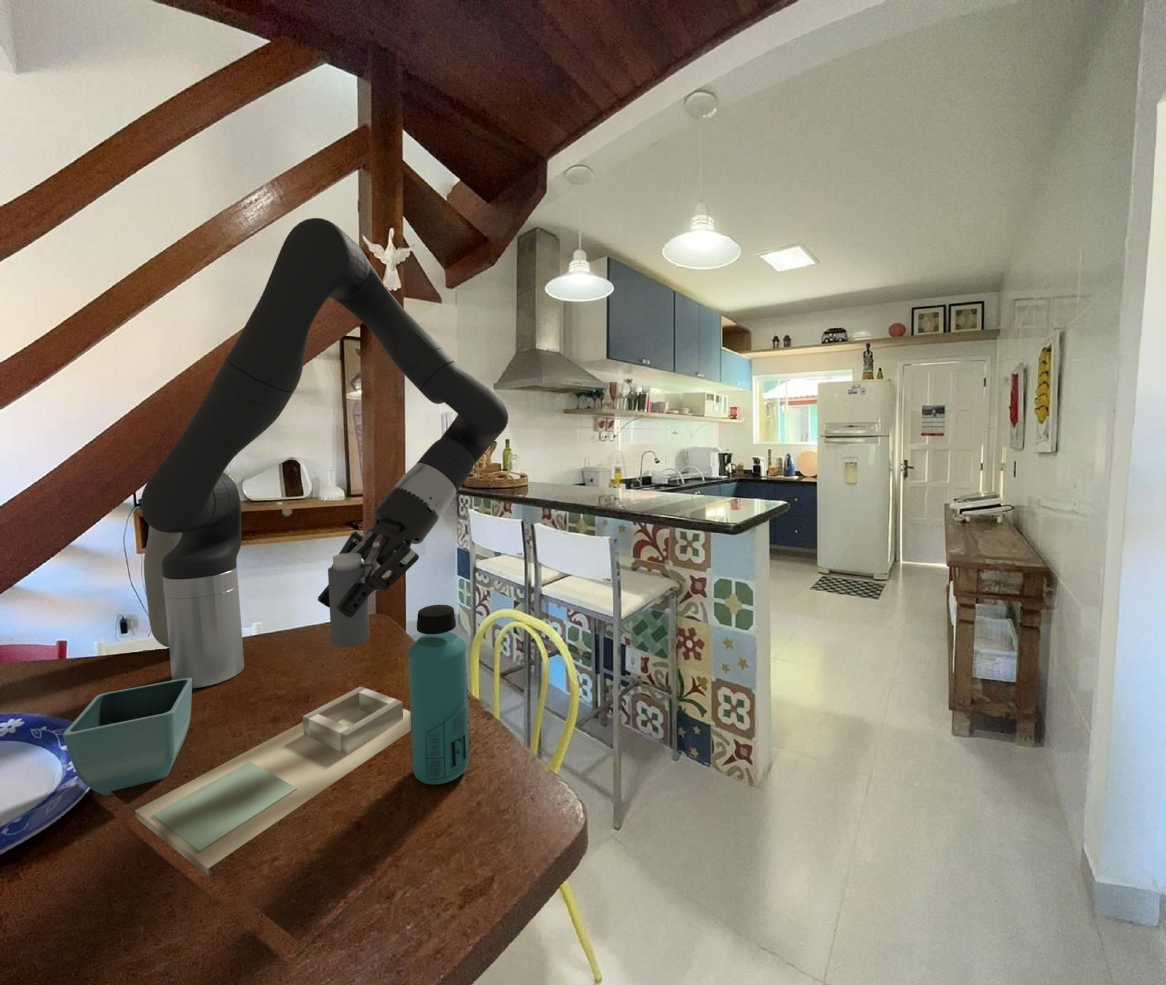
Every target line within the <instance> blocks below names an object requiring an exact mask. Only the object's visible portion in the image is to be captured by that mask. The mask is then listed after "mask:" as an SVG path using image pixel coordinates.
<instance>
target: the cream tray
mask: <svg viewBox="0 0 1166 985" xmlns="http://www.w3.org/2000/svg"><path fill="white" fill-rule="evenodd" d="M403 703H404V702H403V701H401V700H399V699H397V698H394V697H390V696H388V695H385V694H383V693H380V692H377V691H375V690H372V689H369V688H366V687H363V686H359V687H357V688H354V689H352V690H350V691H348V692H347V693H345V694H343V695H341V696H340V697H337V698H335V699H333V700H330V702H328V703H325V704H324V705H322V706H320V707H318V708H316V709H314V710H312V711H310V712H308V713H307V714H304V715H302V722H301V723H298V724H297V725H294V726H292V727H291V728H289V729H286V730H285V731H282V732H281V733H278V734H277V735H275V736H273V737H272V738H269V739H268V740H266V741H264V742H262V743H260V744H258V745H257V746H255V747H252V748H250V749H249V750H248V751H247V750H246V751H244V752H243V753H241V754H239V755H237V756H236V757H234V758H231V759H229V760H228V761H226V762H224V763H222V764H220V765H219V766H216V767H214V768H212V769H211V770H209V771H207V772H205V773H204V774H201V775H199V776H198V777H196V778H194V779H192V780H190V781H189V782H186V783H184V784H182V785H180V786H179V787H177V788H175V789H173V790H171V791H169V792H168V793H165V794H164V795H161V796H160V797H157V798H156V799H154V800H151V801H150V802H148V803H147V804H145V805H143V806H141V807H139V808H137V809H134V814H135V815H134V816H135V818H136V819H137V820H138V821H139V822H140V823H142V824H143V825H144V826H146V827H147V828H148V829H149V830H151V832H153V834H155V835H156V836H158V837H159V838H160V839H161V840H163V841H164V842H165V843H166V844H168V845H169V846H170V847H172V849H174V850H175V851H176V852H177V853H179V854H180V855H181V856H182V857H184V858H185V859H186V860H187V861H188V862H190V863H191V864H192V865H193V866H195V867H196V868H197V869H198V870H199V871H201V872H202V873H203V874H205V875H206V876H207V877H211V876H212V875H213V874H214V873H213V871H212V870H210V869H211V867H212V868H213V866H215V865H217V863H219V862H220V861H222V860H223V859H225V858H226V857H227V856H229V855H231V854H232V853H234V852H236V851H237V850H238V849H239V848H241V847H242V846H244V845H245V844H247V843H248V842H250V841H251V840H252V839H254V838H256V837H257V836H258V835H260V834H261V833H263V832H265V831H266V830H268V829H269V828H270V827H272V826H273V825H274V824H276V823H278V822H279V821H280V820H282V819H284V817H287V816H288V815H289V814H290V813H292V812H294V811H295V810H296V809H298V808H300V807H301V806H303V805H304V804H306V803H307V802H308V801H310V800H312V799H313V798H314V797H316V796H317V795H318V794H320V793H323V791H324V790H326V789H328V788H329V787H331V786H332V785H334V784H335V783H336V782H338V781H339V780H340V779H342V778H343V777H346V775H348V774H350V773H351V772H352V771H355V769H357V768H358V767H359V766H361V765H363V764H364V763H366V762H367V761H368V760H370V759H371V758H374V756H376V755H377V754H379V753H380V752H382V751H384V750H385V749H386V748H387V747H389V746H390V745H392V744H394V743H395V742H397V741H398V740H400V739H401V738H402V737H404V736H406V735H407V734H409V732H410V733H411V722H410V721H409V720H410V710H407V709H405V708H404V704H403ZM409 723H410V725H409ZM409 726H410V727H409ZM409 729H410V730H409Z"/></svg>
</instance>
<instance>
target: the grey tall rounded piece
mask: <svg viewBox="0 0 1166 985" xmlns="http://www.w3.org/2000/svg"><path fill="white" fill-rule="evenodd" d="M181 536H182V532H181V533H165V532H161V531H158V530H156V529H154V528H152V527H151V526H150V525H148V536H147V541H146V547H145V551H144V556H143V576H144V577H143V579H144V587H145V594H146V601H147V610H148V611H147V612H148V619H149V627H150V630H151V633H152V636H153V637H154V639H155V640H156V641H157V642H158V644H160V645H161V646H162V647H166V648H169V639H168V628H167V617H166V606H165V595H164V586H163V575H162V560H163V558H164V557H165V556H166V555H167V554H168V553H169V552H170V551H172V550H173V549H174V548H175V547H176V545H177V544H178V542H179V541H180V539H181Z"/></svg>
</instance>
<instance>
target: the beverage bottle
mask: <svg viewBox="0 0 1166 985" xmlns="http://www.w3.org/2000/svg"><path fill="white" fill-rule="evenodd" d="M455 614H456V613H455V609H454V607H453V606H451V605H448V604H433V605H432V604H431V605H428V606H424V607H422V608H420V609H419V610H418V611H417V619H416V620H417V621H416V631H417V632H418V633H421V634H423V635H421V636H420V637H418V639H416V640H415V641H414V643H413V642H412V643H413V644H411V646H410V647H409V648H408V650H407V658H408V678H409V681H408V682H409V700H410V701H409V702H410V703H409V711H410V720H409V721H410V722H411V731H410V732H408V734H410V745H409V748H410V749H409V752H410V753H409V754H410V759H411V760H410V763H411V764H410V767H411V769H412V773H413V775H414V776H415V778H416V779H417V780H418V781H419V782H421V783H423V784H425V785H426V784H427V785H441V784H446V783H449V782H452V781H454V780H456V779H457V778H459V777H460V776H462V774H464V772H466V770H467V768H468V765H469V762H470V758H471V754H470V753H471V748H470V747H471V737H470V736H471V735H470V734H471V732H469V730H471V729H470V728H471V727H470V725H469V724H470V715H469V705H468V703H469V701H468V699H469V698H468V693H469V691H470V690H469V686H468V673H469V672H468V669H467V652H466V651H467V643H466V642H465V640H463V639H462V638H461V637H460V636H458V635H457V634H456V633H454V632H452V631H453V630H454V629H455V628H456V626H457V620H456V615H455ZM409 725H410V723H409ZM409 727H410V726H409ZM409 730H410V729H409Z"/></svg>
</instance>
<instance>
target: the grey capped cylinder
mask: <svg viewBox="0 0 1166 985" xmlns="http://www.w3.org/2000/svg"><path fill="white" fill-rule="evenodd" d="M361 561H362V558H361V554H359V553H344V554H339V553H338V554H336V555H333V556H332V564H333V566H332V565H331V566H330V567H328V568H327V578H328V579H327V581H328V585H329V604H330V608H329V620H330V624H329V625H330V643H331V645H332V646H333V647H337V648H348V647H349V648H350V647H355V646H359V645H361V644H364V643H366V642H367V641H368V640H369V639H370V624H369V623H370V622H369V618H370V617H369V597H368V598H367V599H366V600H365V602H364V603H363V604H362V606H360V608H359V609H358V611H357V612H356V613H355V614H354V616H352V617H347V616H345V615H344V614H342V613H341V612H339V611H338V610H337V605H338V604H339V603H340V602H341V600H342V599H343V598H344V596H345V595H346V594H347V593H348V591H349V590H350V589H351V588H352V586H353V585H354V584H355V583H358V584H359V582H358V580H359V578H360V576H361V574H362V572H363V571H364V569H365V566H364V564H361Z"/></svg>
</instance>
